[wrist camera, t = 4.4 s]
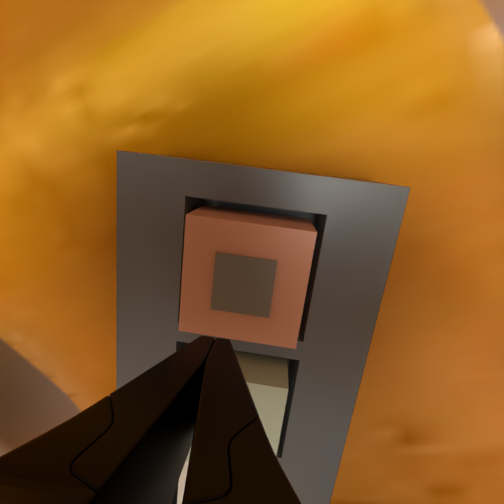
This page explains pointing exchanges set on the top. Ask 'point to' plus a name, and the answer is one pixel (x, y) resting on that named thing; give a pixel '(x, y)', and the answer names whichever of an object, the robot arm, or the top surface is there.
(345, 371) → the gray keypad housing
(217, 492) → the robot arm
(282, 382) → the sage key
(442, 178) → the top surface
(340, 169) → the top surface
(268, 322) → the terracotta key
